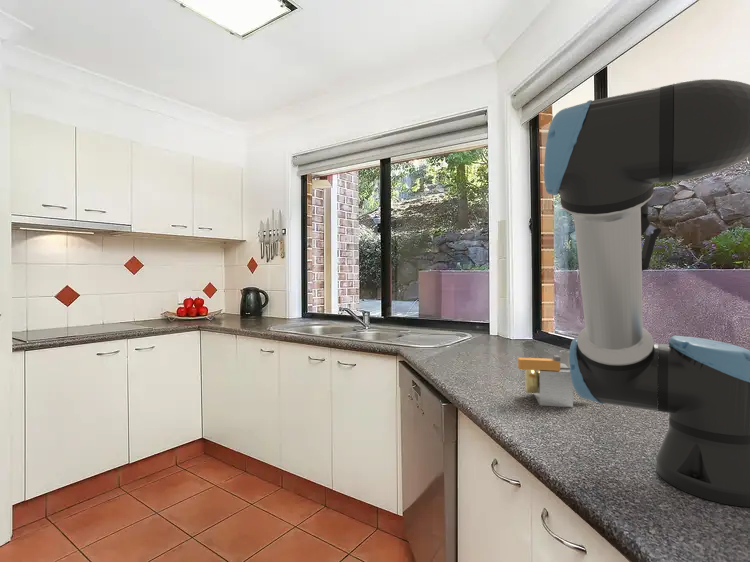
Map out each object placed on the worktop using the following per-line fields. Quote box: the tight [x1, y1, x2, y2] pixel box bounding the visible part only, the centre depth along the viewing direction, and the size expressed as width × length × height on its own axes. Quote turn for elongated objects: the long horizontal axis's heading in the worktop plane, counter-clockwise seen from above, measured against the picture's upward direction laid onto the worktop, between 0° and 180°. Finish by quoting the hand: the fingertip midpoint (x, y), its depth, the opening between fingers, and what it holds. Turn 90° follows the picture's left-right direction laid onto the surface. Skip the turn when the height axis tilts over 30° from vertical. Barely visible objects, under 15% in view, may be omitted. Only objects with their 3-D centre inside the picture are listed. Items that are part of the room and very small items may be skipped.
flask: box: [559, 350, 570, 368], centre depth 126 cm, size 7×7×10 cm
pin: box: [524, 369, 575, 394], centre depth 110 cm, size 6×16×6 cm, turn 77°
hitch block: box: [533, 363, 574, 408], centre depth 110 cm, size 10×8×9 cm
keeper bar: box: [517, 354, 560, 371], centre depth 108 cm, size 3×10×4 cm, turn 77°
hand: (627, 301), depth 94 cm, fingers closed
